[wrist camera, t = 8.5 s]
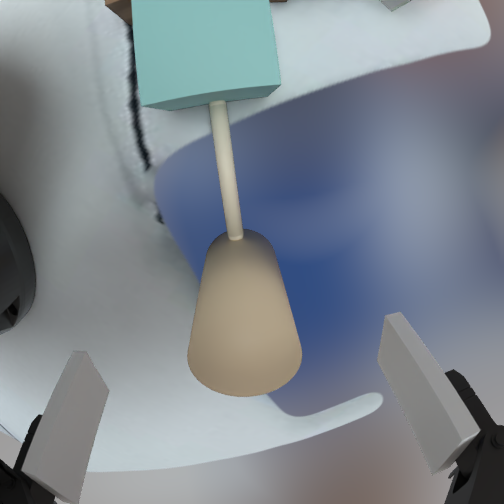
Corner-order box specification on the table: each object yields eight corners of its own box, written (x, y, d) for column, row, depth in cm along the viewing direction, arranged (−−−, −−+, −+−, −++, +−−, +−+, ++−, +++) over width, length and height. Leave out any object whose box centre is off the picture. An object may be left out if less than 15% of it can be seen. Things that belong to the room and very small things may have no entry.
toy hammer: (205, 296, 23) (191, 400, 14) (162, 28, 15) (104, -37, 6) (285, 286, 23) (312, 387, 14) (255, 14, 15) (271, -67, 6)
